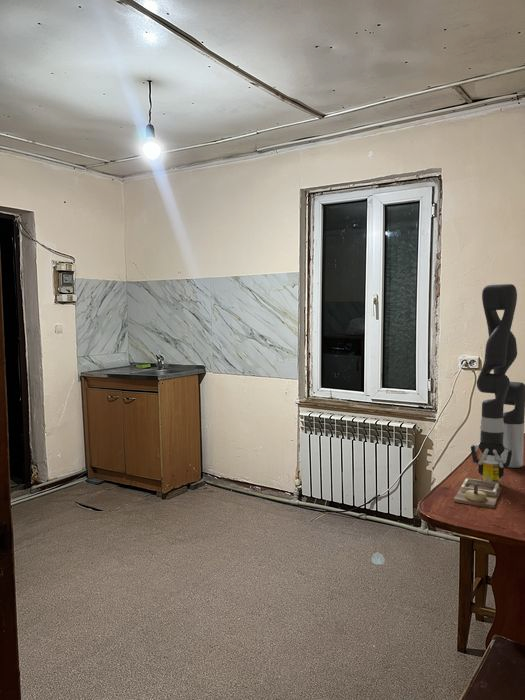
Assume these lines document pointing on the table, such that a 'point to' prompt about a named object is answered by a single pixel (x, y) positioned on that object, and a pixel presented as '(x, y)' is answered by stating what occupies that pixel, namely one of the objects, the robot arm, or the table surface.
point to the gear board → (484, 504)
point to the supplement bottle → (490, 469)
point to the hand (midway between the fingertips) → (490, 475)
